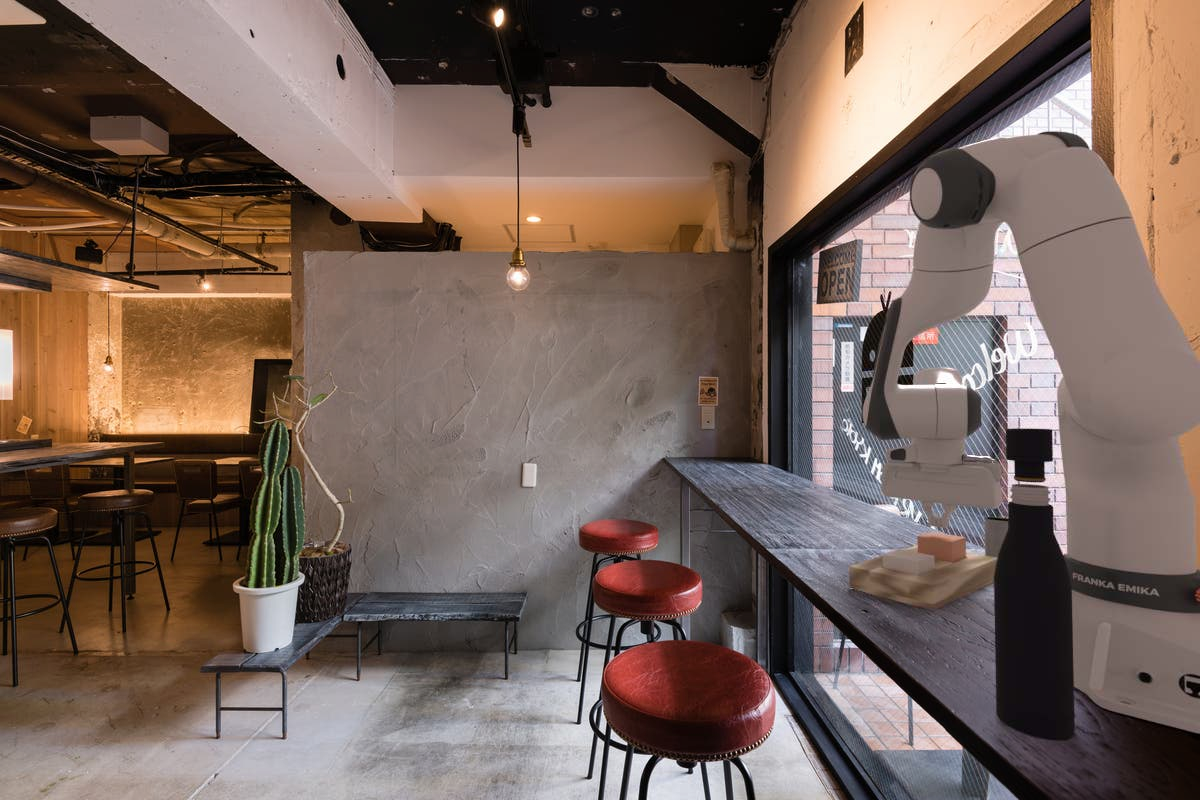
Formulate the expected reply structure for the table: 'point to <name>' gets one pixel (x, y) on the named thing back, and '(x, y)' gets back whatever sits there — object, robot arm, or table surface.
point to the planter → (994, 534)
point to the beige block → (908, 562)
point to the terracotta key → (942, 546)
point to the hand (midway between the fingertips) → (938, 526)
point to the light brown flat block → (924, 580)
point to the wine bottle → (1033, 602)
